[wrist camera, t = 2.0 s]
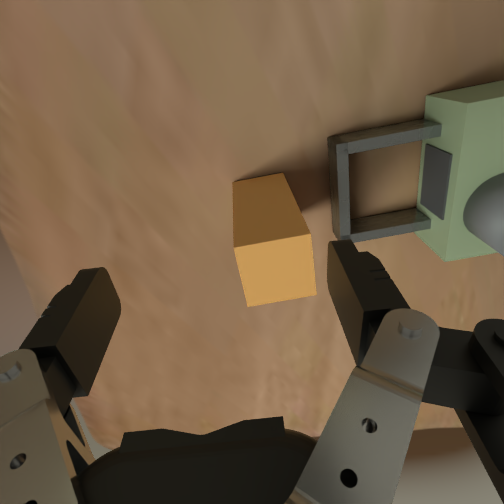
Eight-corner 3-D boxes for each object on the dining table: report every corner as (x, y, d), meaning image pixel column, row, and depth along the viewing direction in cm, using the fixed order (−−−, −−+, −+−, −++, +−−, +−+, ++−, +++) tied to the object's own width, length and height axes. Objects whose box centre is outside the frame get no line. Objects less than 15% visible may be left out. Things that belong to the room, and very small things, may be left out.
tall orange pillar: (232, 182, 32) (233, 247, 21) (282, 172, 32) (310, 233, 21) (242, 227, 35) (247, 306, 24) (288, 218, 35) (316, 294, 24)
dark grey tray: (327, 137, 31) (336, 144, 28) (424, 118, 30) (442, 124, 28) (332, 231, 36) (340, 245, 33) (416, 216, 35) (430, 228, 33)
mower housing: (423, 96, 29) (504, 111, 21) (505, 79, 29) (621, 88, 20) (412, 233, 36) (469, 287, 28) (478, 221, 36) (555, 272, 28)
